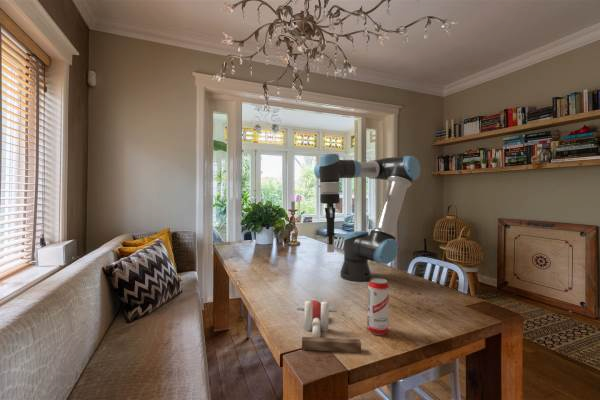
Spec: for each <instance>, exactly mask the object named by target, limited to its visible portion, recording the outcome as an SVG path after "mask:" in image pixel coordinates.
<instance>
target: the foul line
mask: <svg viewBox="0 0 600 400" xmlns="http://www.w3.org/2000/svg"><path fill="white" fill-rule="evenodd" d="M296 310H297V311H305V307H297V308H296ZM329 312H337V311H336V308H329Z"/></svg>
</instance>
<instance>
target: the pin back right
mask: <svg viewBox="0 0 600 400" xmlns="http://www.w3.org/2000/svg"><path fill="white" fill-rule="evenodd" d="M320 303H321V317H320V332H323V333H325V332H328V331H329V316H330V315H329V312H330V311H329V309H330V307H329V305H330V303H329V302H328V301H321V302H320Z"/></svg>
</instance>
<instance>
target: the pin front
mask: <svg viewBox="0 0 600 400" xmlns="http://www.w3.org/2000/svg"><path fill="white" fill-rule="evenodd" d="M311 332H312V333H311V334H312V337H317V338H321V318H320V317H319V318H314V319H312V330H311Z"/></svg>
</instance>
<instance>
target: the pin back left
mask: <svg viewBox="0 0 600 400" xmlns="http://www.w3.org/2000/svg"><path fill="white" fill-rule="evenodd" d="M304 308H305V310H304V330H305V331H306V332H310V331H311V332H312V330H313V319H312V300H305V301H304Z"/></svg>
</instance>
